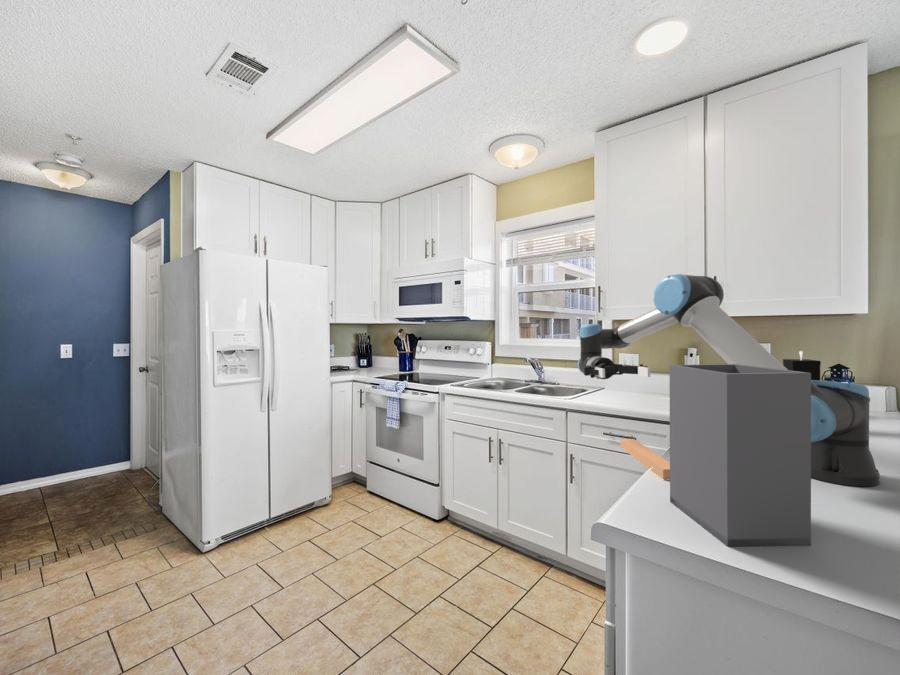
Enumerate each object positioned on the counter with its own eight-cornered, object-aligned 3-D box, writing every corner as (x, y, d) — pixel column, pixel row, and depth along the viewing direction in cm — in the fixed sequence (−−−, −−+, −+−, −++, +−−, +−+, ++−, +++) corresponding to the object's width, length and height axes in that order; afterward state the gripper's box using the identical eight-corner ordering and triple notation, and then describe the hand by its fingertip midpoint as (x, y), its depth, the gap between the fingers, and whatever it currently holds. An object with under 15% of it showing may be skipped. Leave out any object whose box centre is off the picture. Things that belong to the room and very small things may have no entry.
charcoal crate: (736, 500, 87) (736, 364, 86) (810, 545, 69) (811, 372, 68) (670, 501, 87) (669, 365, 87) (727, 546, 69) (726, 374, 69)
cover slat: (620, 448, 128) (620, 438, 127) (633, 448, 127) (633, 438, 127) (663, 481, 100) (663, 469, 100) (680, 481, 99) (680, 469, 99)
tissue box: (809, 427, 148) (809, 350, 148) (820, 432, 141) (820, 351, 140) (782, 426, 151) (782, 350, 150) (792, 431, 143) (792, 351, 143)
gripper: (636, 377, 145) (668, 384, 124) (565, 379, 145) (585, 386, 124) (635, 356, 145) (667, 359, 124) (565, 357, 145) (584, 361, 124)
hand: (626, 372), depth 124 cm, fingers open, 13 cm apart
